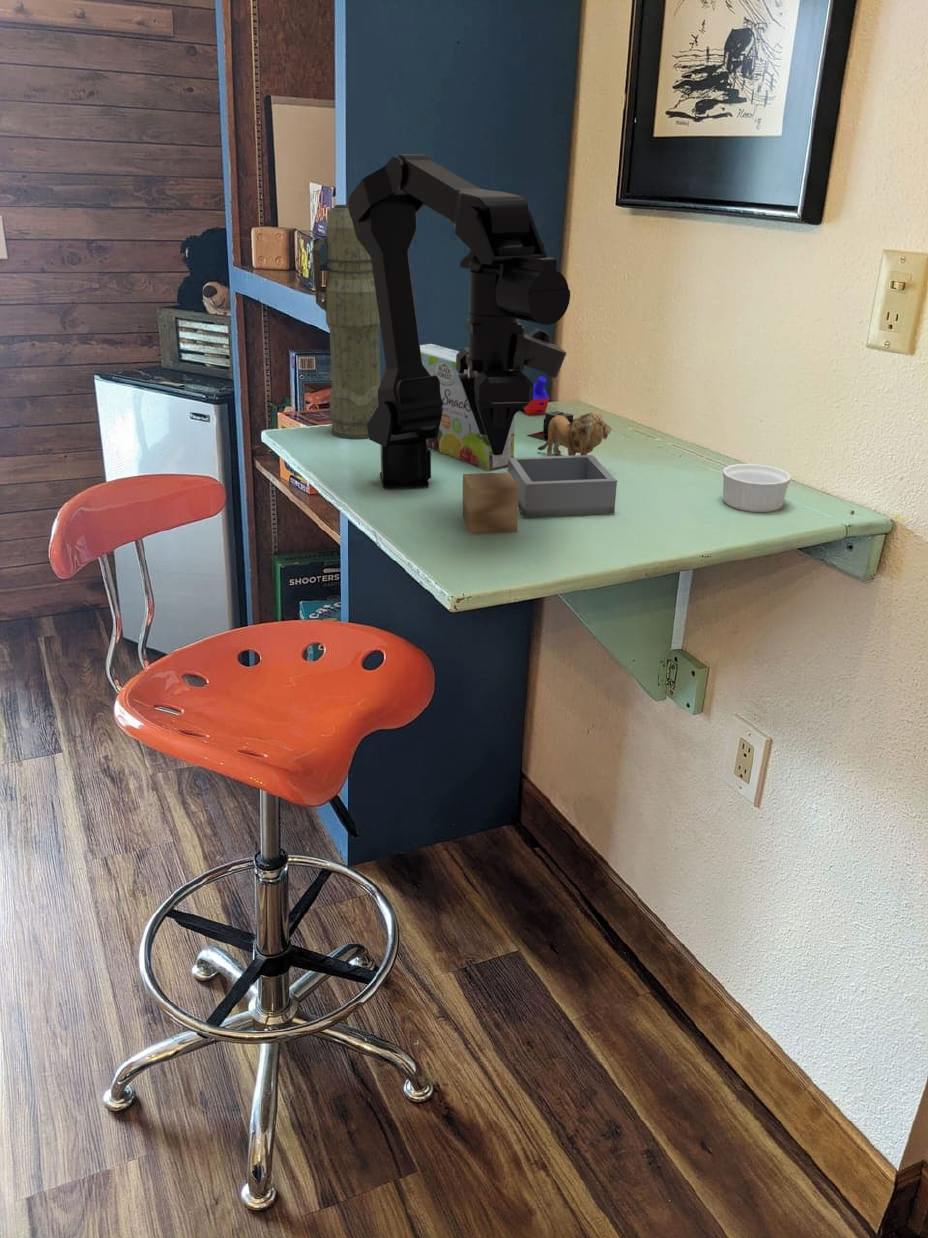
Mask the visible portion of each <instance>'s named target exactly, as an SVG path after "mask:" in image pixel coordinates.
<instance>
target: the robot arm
mask: <svg viewBox="0 0 928 1238" xmlns="http://www.w3.org/2000/svg"><path fill="white" fill-rule="evenodd" d="M347 205H348V209H349V214H350V216H351V219H352V222H353V226H354V231H355V235H356V238H357V239H358V241H359V242H360V243H361V245H362V246H363V247H364V249H365V250H366V251H367V253H368V254H369V255H370V257H371V262H372V269H373V276H374V283H375V290H376V298H377V305H378V312H379V319H380V334H381V339H382V347H383V348H382V349H383V354H384V363H385V371H384V374H383V376H382V379H381V380H380V386H379V388H378V407H377V409H376V411H375V412H374V414H373V415H372V417H371V419H370V420H369V422H368V424H367V429H368V434H369V438H368V439H369V440H370V441H371V442H374V443H376V444H378V445H380V470H381V471H380V472H379V478H380V482H381V485H382V488H383V489H407V488H408V489H411V488H427V487H428V488H429V486H430V481H429V480H431V479H432V453H431V449H430V447H428V446H427V441H426V439H436V438H437V436H438V432H439V427H440V422H441V418H442V413H443V407H442V406H443V402H442V399H441V394H440V381H439V379H438V377H437V376H436V375H435V376H431V375H430V374H429V372H428V371H427V370H426V368H425V367H424V366H423V363H422V358H421V350H420V345H421V344H420V335H419V328H418V321H417V314H416V305H415V298H414V291H413V290H414V289H413V288H414V287H413V283H412V282H413V281H412V274H411V266H410V260H409V258H410V257H409V250H410V247H411V245H412V243H413V240H414V237H415V235H416V233H417V229H418V225H417V223H418V222H417V215H418V214H420V212H421V211H422V210H423V209H424V207H425V206H427V207H429V208H430V209H432V210H433V211H435V212H437V214H439V215H441V216H443V217H444V218H446V219H447V220H448V221H450V222H451V223H452V224H453V231H454V233H453V234H455V236H456V238H458V240H460V241H461V242H462V243H463V244H464V245H465V247H467V249H469V252H468V254H467V255H466V256H464V257H463V258H462V260H460V263H459V266H460V268H462V269H466V270H469V305H468V306H469V307H468V310H469V311H468V315H469V316H468V318H466V320H465V321H466V322H465V324H466V325H465V327H466V329H467V330H468V347H462V348H461V349H460V352H459V353H458V354H457V355H456V370H457V372H458V373H459V375H458V377H459V379H460V382H461V384H462V387H463V390H464V392H465V395H466V397H467V400H468V403H469V405H470V408H471V411H472V413H473V416H474V419H475V421H476V424H477V427H478V429H479V432H480V434H481V435H487V438H488V441H489V444H490V447H491V450H492V453H493V455H502V454H503V451H504V447H505V444H506V441H507V437H508V434H509V430H510V427H511V424H512V421H513V418H514V415H516V414H517V413H518V412H520V411H521V410H520V409H522V408H523V407H526V406H527V405H528V404H529V402H531V401H533V391H534V384H535V383H533V382H532V381H531V380H530V379H529V378H528V377H527V376H526V375H525V374H524V373H523V372H522V371H524V370H525V369H524V368H525V367H524V366H526V367H527V368H531V369H534V370H537V371H539V372H542V373H545V374H546V376H549V377H550V378H555V379H557V378H558V375H559V373H560V371H561V368H562V365H563V363H564V361H565V358H566V356H567V352H566V351H565V350H564V349H562V347H560V346H558V345H556V344H554V343H551V342H550V334H549V333H548V332H547V331H545V330H542V329H539V328H536V327H534V329H532V331H531V332H529V333H528V334H527V333H525V327H524V326H523V324H522V323H520V322H519V320H521V321H526V322H531V323H535V324H538V325H543V326H551V325H553V324H556V323H557V322H559V321H560V320H561V319H562V318H563V317H564V315H565V314H566V312H567V311H568V308H569V306H570V305H569V304H570V300H571V290H570V288H569V284H568V281H567V279H566V278H565V276H564V275H563V274H562V272H560V271H558V270H557V267H558V260H557V258H555V257H554V258H553V257H548V256H547V253H546V251H545V248H544V247H545V244H544V242H543V240H542V239H541V236H540V235H539V232H538V228H537V226H536V224H535V221H534V218H533V216H532V213H531V211H530V209H529V203H528V202H527V201H526V199H525V198H524V197H523V196H521V195H519V194H518V195H517V194H514V193H509V192H505V191H499V190H489V189H483V188H480V187H478V186H476V185H474V184H473V183H471V182H469V181H468V180H465V179H464V178H462V177H460V176H459V175H457V174H456V173H454V172H452V171H450V170H448V169H447V168H446V167H443V166H441V165H440V164H438V163H436V162H435V161H434V159H433V158H432V157H431V156H428V155H426V154H419V153H418V154H416V153H414V154H411V153H408V154H407V153H405V154H404V153H403V154H401V153H399V154H396V155H395V156H392V157H390V159H389V161H388V162H386V164H385V165H384V166H382V167H381V168H378V170H375V171H373V172H372V173H370V174H368V175H367V176H364V177H363V178H362V179H361V181H360V182H359V183H358V184H357V185H356V187H355V188H354V190H353V191H352V192H351V193H350V196H349V198H348V204H347ZM464 370H465V374H464ZM514 419H515V418H514Z"/></svg>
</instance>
